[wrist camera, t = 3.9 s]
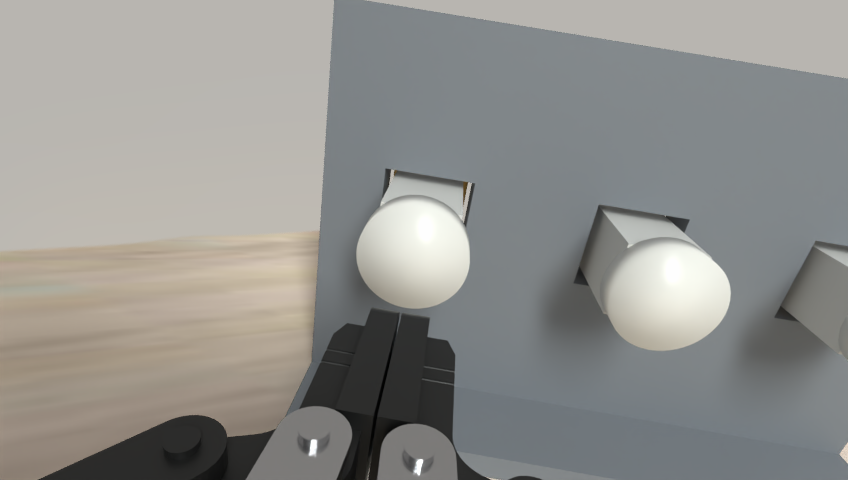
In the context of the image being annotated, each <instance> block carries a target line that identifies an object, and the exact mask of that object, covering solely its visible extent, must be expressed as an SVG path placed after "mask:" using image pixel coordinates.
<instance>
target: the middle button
mask: <svg viewBox="0 0 848 480" xmlns="http://www.w3.org/2000/svg"><path fill="white" fill-rule="evenodd" d="M579 266H580V268H581V270H582V272H583V274H584V276H585V278H586V280H587V282H588V284H589V286H590V288H591V290H592V292H593V294H594V296H595V298H596V300H597V302H598V304H599V306H600V308H601V310H602V312H603V314H607V315H608V317H609V319H610V321H611V323H612V325H613V326H614V328H615V330H616V331H617V332H618V334H619V335H620V336H621V337H622V338H623V339H625V340H626V341H627V342H629V343H631V344H633V345H635V346H637V347H640V348H643V349H647V350H654V351H667V350H674V349H679V348H683V347H686V346H689V345H691V344H694V343H695V342H697V341H699V340H701V339H703V338H704V337H706V336H707V335H708V334H709V333H711V332H712V331H713V330H714V329H715V328H716V327H717V326H718V325H719V323H720V322H721V321H722V319H723V318H724V316H725V314H726V312H727V309H728V307H729V303H730V297H731V291H730V284H729V281H728V278H727V276H726V274H725V273H724V271H723V270H722V269H721V268H720V267H719V265H718V264H716V263H715V262H714V261H713V260H712V257H711V256H710V255H708V254H707V253H706V252H705V251H704V250H703V249H702V248H701V247H699V246H698V245H697V244H696V243H695V242H694V241H693V240H691V239H690V238H689V237H688V236H687V235H686V234H685V233H683V232H682V231H681V230H680V229H679V228H678V227H677V226H675V225H674V224H673V223H672V222H671V221H670V220H669V219H668V218H666V217H665V216H664V215H660V214H654V213H648V212H642V211H637V210H631V209H625V208H619V207H613V206H607V205H601V204H599V206H598V209H597V212H596V215H595V218H594V221H593V224H592V227H591V230H590V234H589V237H588V240H587V243H586V246H585V249H584V252H583V255H582V259H581V262H580V265H579Z"/></svg>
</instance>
